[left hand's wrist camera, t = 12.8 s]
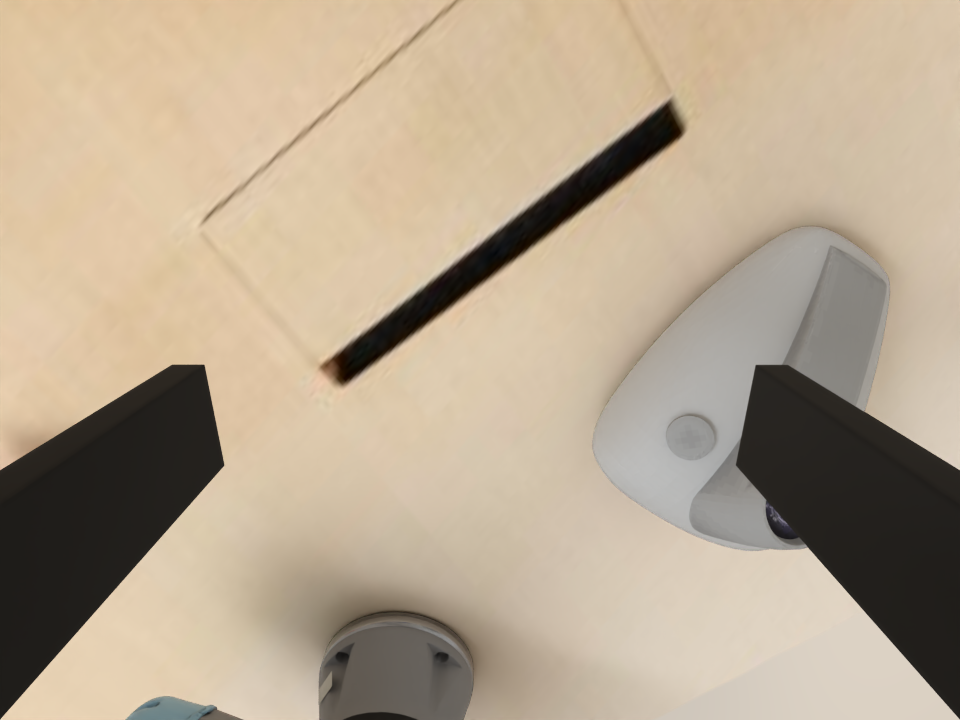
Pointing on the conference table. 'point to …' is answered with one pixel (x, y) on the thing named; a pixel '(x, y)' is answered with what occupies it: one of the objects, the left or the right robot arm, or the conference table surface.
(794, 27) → the conference table surface
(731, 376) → the projector
